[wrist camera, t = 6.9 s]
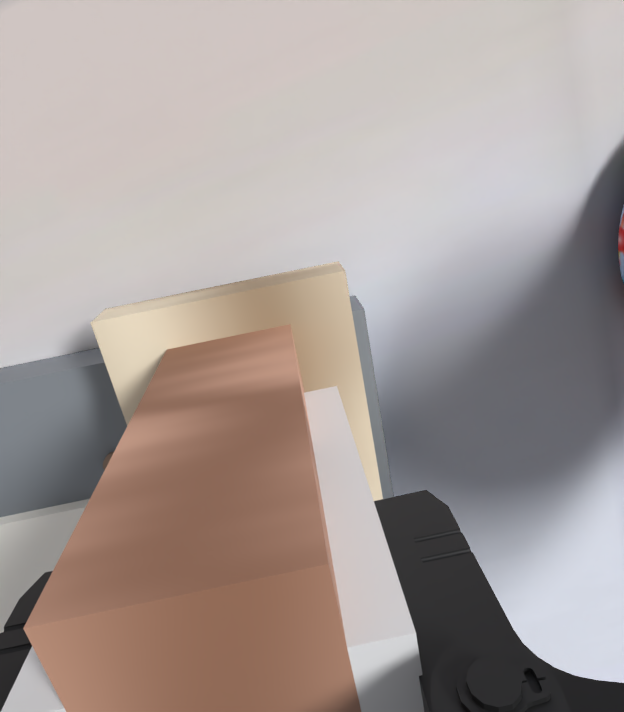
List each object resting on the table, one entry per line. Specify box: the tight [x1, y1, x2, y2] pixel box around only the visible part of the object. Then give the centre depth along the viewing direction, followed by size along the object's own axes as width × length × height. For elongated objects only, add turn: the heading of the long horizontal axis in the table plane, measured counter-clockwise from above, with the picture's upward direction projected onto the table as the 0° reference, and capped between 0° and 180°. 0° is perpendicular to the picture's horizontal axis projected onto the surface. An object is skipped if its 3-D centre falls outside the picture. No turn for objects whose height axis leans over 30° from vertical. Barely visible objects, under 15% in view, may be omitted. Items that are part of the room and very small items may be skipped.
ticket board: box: [0, 296, 394, 633], centre depth 18 cm, size 16×17×2 cm
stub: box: [23, 262, 383, 712], centre depth 10 cm, size 6×7×9 cm
